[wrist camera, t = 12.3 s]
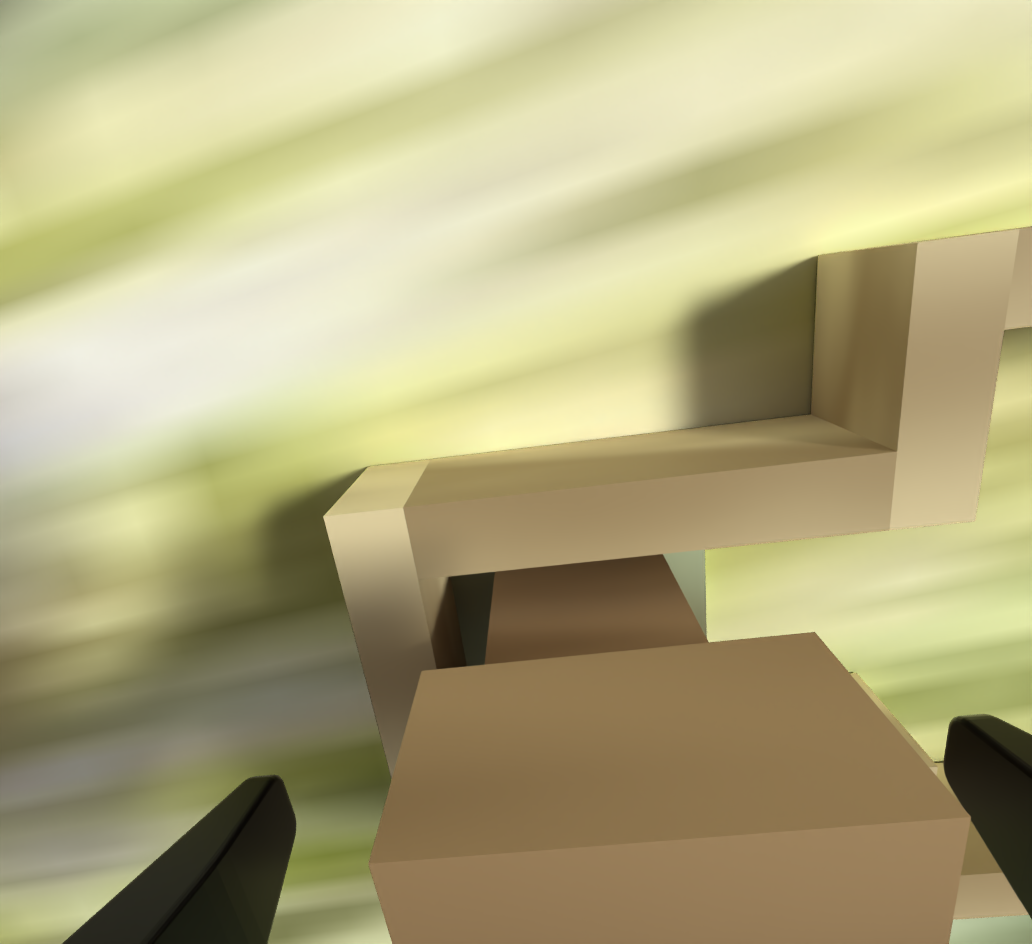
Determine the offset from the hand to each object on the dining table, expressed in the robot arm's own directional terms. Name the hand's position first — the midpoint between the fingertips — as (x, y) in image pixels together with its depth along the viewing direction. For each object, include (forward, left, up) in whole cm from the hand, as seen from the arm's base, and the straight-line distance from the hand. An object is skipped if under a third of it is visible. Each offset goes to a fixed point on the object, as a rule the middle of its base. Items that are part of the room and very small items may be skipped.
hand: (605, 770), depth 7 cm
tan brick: (0, 0, -4) cm, 4 cm away
